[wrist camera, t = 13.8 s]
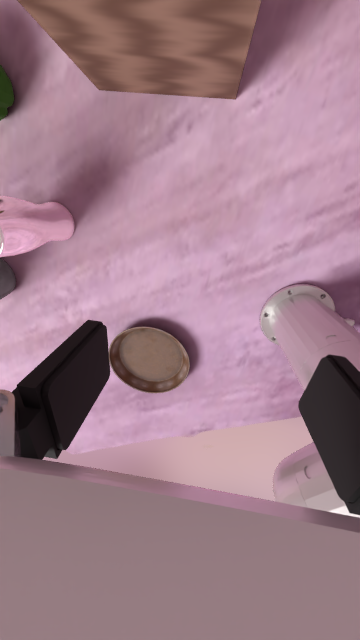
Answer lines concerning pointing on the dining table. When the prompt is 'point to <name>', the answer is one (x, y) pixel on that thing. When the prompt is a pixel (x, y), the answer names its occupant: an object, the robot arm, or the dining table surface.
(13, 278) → the bottle
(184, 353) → the plant saucer
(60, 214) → the beer glass
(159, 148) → the dining table surface
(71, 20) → the backboard
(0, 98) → the bell pepper
